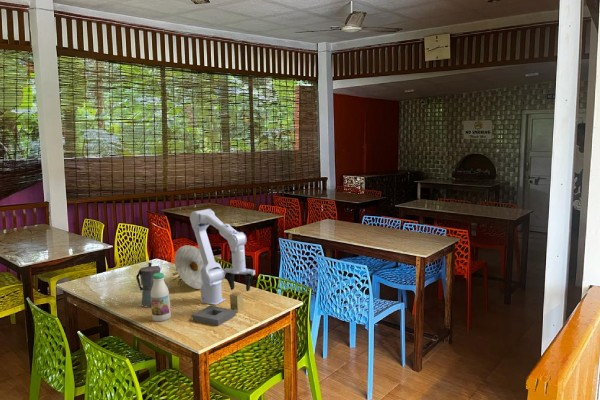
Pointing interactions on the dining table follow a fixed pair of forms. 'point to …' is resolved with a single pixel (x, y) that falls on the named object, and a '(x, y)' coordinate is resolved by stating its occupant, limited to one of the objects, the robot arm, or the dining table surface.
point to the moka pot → (147, 282)
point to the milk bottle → (160, 299)
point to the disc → (189, 266)
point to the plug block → (236, 301)
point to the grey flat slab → (209, 312)
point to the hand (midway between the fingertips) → (240, 289)
